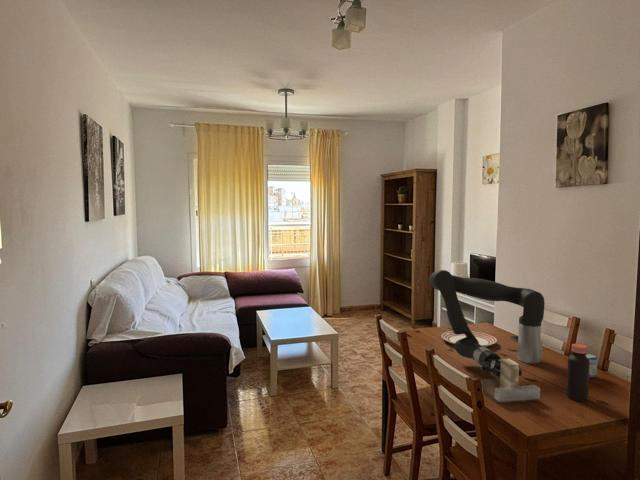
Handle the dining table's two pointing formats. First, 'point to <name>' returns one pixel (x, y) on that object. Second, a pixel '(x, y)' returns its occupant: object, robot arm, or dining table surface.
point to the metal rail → (517, 393)
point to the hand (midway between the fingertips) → (510, 373)
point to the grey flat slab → (490, 390)
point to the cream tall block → (509, 373)
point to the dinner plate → (481, 337)
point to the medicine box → (592, 365)
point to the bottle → (578, 374)
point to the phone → (514, 338)
